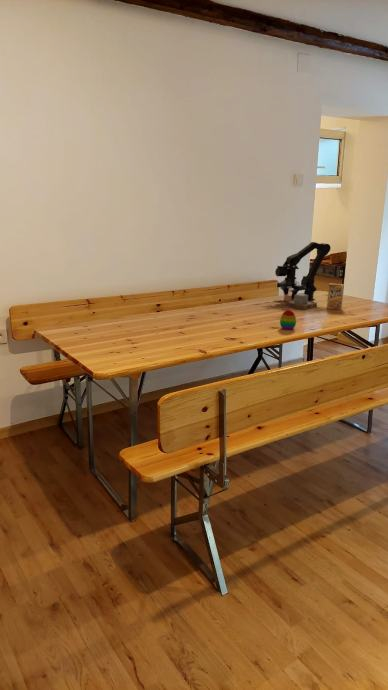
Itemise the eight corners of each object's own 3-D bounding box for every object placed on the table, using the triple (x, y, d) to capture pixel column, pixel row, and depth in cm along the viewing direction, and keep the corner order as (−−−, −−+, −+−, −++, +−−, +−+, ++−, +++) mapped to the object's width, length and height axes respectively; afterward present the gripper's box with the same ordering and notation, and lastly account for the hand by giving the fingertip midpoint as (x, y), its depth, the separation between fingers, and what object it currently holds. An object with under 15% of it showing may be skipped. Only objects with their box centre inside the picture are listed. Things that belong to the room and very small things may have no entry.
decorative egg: (276, 327, 267) (277, 308, 264) (289, 326, 270) (291, 307, 267) (285, 331, 260) (286, 312, 257) (298, 329, 263) (300, 310, 260)
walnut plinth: (299, 303, 330) (299, 299, 330) (316, 307, 320) (316, 303, 319) (284, 306, 322) (285, 302, 321) (302, 309, 311) (302, 305, 311)
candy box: (326, 308, 316) (328, 284, 312) (327, 307, 320) (329, 283, 316) (341, 309, 314) (343, 285, 309) (341, 308, 317) (344, 284, 313)
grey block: (300, 301, 324) (300, 293, 323) (307, 302, 320) (308, 295, 318) (294, 302, 320) (294, 294, 319) (301, 304, 316) (302, 296, 315)
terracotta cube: (288, 299, 342) (288, 293, 341) (294, 300, 339) (294, 295, 338) (283, 300, 339) (284, 294, 338) (289, 301, 335) (290, 295, 334)
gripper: (271, 275, 336) (270, 298, 341) (293, 278, 322) (292, 302, 327) (283, 273, 343) (281, 296, 347) (305, 277, 329) (303, 301, 334)
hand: (289, 299), depth 339 cm, fingers closed on terracotta cube, 5 cm apart
